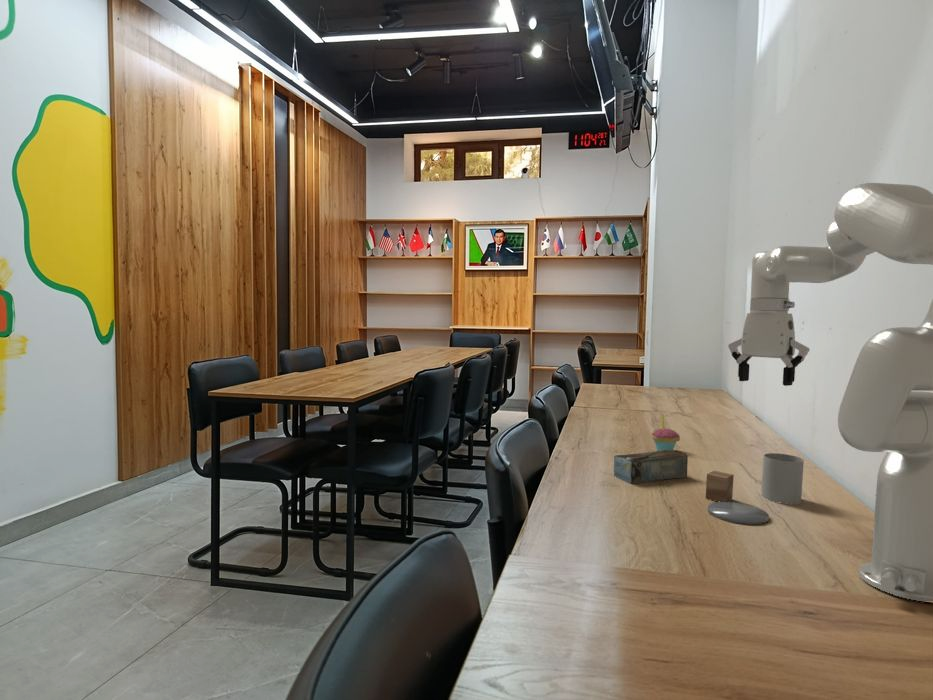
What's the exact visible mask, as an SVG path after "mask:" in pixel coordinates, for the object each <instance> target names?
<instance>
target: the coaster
mask: <svg viewBox="0 0 933 700" xmlns="http://www.w3.org/2000/svg"><path fill="white" fill-rule="evenodd" d="M707 512H708V513H709V514H710V515H711V516H713V517H715V518H717V519H720V520H722V519H723V521H727V522H729V523H734V524H739V523H740V524H741V525H748V524H758V525H763V524H762V523H764V524H766V523H768V522H769V520H770V515H769V513H768V512H766V511H765V510H763V509H761V508H759V507H756V506H754V505H749V504H746V503H741V502H731V501H728V502H717V501H714V502H711V503H709V504H708V506H707ZM767 521H768V522H767ZM765 522H766V523H765Z"/></svg>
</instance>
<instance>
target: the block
mask: <svg viewBox="0 0 933 700" xmlns="http://www.w3.org/2000/svg"><path fill="white" fill-rule="evenodd" d="M734 477H735V476H734V474H732V473H728V472H723V471H718V470H713V471H710V472H708V473H706V484H705V499H706V498H707V499H706V500H709V499H711V501H713V500H716V501H715V502H717V501H720V502H731V501H732V500H733V492H734ZM731 499H732V500H731Z"/></svg>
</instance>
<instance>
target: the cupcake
mask: <svg viewBox="0 0 933 700" xmlns="http://www.w3.org/2000/svg"><path fill="white" fill-rule="evenodd" d="M664 417H665V416H664V415H663V412H661V424H662V425H661V427H662V428H658V429H656V430H654V431H653V432H652V433H651V439H652V440H653V442H654V444H655V447H656V448H655V449H656V451H663V450H670V451H673V452H674V448H675V446H676V444H677V442H680V440H681V436H680V434H679V433H678V432H676V431H675V430H673V429H670V428H666V427H665V419H664Z"/></svg>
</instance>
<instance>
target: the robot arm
mask: <svg viewBox="0 0 933 700" xmlns="http://www.w3.org/2000/svg"><path fill="white" fill-rule="evenodd" d="M833 217H834V220H833V221H831V223H830V225H829V226H828V228H827V231H826V242H827V245H828V246H821V247H819V246H800V245H797V246H796V245H795V246H794V245H781V246H776V247H775V248H772V249H770V250H767V251H766V250H765V251H760V252H757V253H755V254H754V255H753V257H752V261H751V263H752V264H751V266H752V267H751V283H750V305H749V312H747V314H746V316H745V320H744V324H743V329H742V335H741V338H739V339H737V340H735V341H733V342H731V343H728V345H727V347H728V349H729V352H730V353H731V356H732V358H733V359H734V360H735V361H736V364H738V370H737V377H738V382H748V381H749V379H750V363H748V362H749V361H750V360H751V359H752V357H755V358H768V359H769V358H771V359H781V361H782V362H783V364H784V365H785V366H784V367H783V369H782V371H783V372H782V373H783V374H782V385H783V386H785V387H788V386H793V383H794V382H795V378H796V377H795V376H796V368H797V367H798V366H799V364H801V363H802V362H803V361H804V360H805V359H806V357H807V355H808V354H809V352H810V347H808V346H806V345H804V344H803V343H801V342H799V341H797V340H796V331H795V322H794V316H793V313H789V311H790V309H791V308H793V309H794V308H795V306H796V305H795V301H791V300H790V299H789V297H790V296H789V295H790V283H802V284H803V283H806V284H807V283H809V284H823V283H824V284H825V283H829V282H832V281H836V280H838V279H840V278H843V277H846V276H848V275H851V274H852V273H854V272H856V271H857V270H859V268H860V267H861V265H862V264H863V263H864V261H865V260H866V257H867V256H870V255H871V254H874V253H877V254H880V255H881V256H884V257H885V258H887V259H889V260H892V261H894V262H898V263H903V264H909V265H933V193H932V192H931V191H930V190H928V189H926V188H924V187H921V186H918V185H912V184H900V183H899V184H898V183H885V182H883V183H881V182H865V183H862V184H858V185H855V186H854V187H852V188H850V189H849V190H847V191H846V192H845V193H843V195H841V197H840V198H839V200H838V202H837V203H836V206H835V210H834V216H833ZM739 347H741V348H740V349H741V350H740V351H741V352H739V350H738V348H739ZM796 350H797V351H798V353H797V355H796V356H795V352H796ZM794 356H795V357H794ZM931 391H933V299H932V300H931V303H930V306H929V309H928V311H927V313H926V315H925V317H924V319H923V321H922V322H921V324H919V326H917V327H909V326H908V327H907V326H906V327H903V326H901V327H897V326H896V327H890V328H886V329H883V330H880V331H879V332H876V333H875V334H873V335H871V337H870V338H869V339H868V340H867V341H866V342H865V343H864V344H863V346H862V347H861V350H860V351H859V354H858V356H857V358H856V361H855V364H854V367H853V369H852V372H851V374H850V377H849V379H848V383H847V385H846V388H845V391H844V394H843V397H842V399H841V403H840V405H839V409H838V414H837V426H838V430H839V433H840V436H841V438H842V439H843V440H844V442H845V443H846V444H848V446H850V447H852V448H854V449H855V450H858V451H863V452H867V453H869V452H870V453H886V454H885V455H884V457H883V458H882V460H881V462H880V465H879V468H878V471H877V476H876V477H877V480H876V487H875V488H876V489H875V491H876V492H875V504H874V519H873V533H872V546H871V547H872V549H871V561H868V562H864V563H862V564H860V565H859V568H858V573H859V576H860V578H861V579H862V580H863V581H864V582H866V584H869V586H872V587H874V588H875V587H876V588H875V589H877V588H878V589H877V590H879V589H880V590H879V591H882V592H884V591H885V592H884V593H886V592H887V594H889V593H890V594H889V595H892V594H893V595H892V596H896V597H898V596H899V597H898V598H901V597H902V599H905V598H906V600H909V599H911V600H910V601H913V600H919V601H933V392H931Z"/></svg>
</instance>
